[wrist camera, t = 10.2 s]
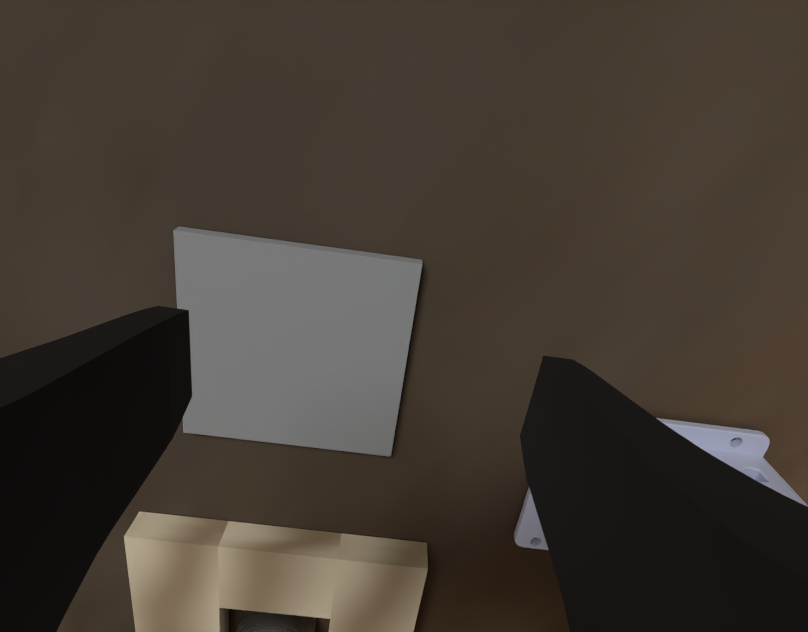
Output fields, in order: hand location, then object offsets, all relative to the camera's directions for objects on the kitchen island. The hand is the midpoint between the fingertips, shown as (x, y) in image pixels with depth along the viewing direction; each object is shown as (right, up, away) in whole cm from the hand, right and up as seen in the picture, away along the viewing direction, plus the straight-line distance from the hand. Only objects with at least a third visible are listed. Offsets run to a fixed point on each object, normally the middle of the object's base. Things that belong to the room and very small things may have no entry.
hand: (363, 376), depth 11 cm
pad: (-4, 0, +10) cm, 11 cm away
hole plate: (-6, -15, +18) cm, 24 cm away
